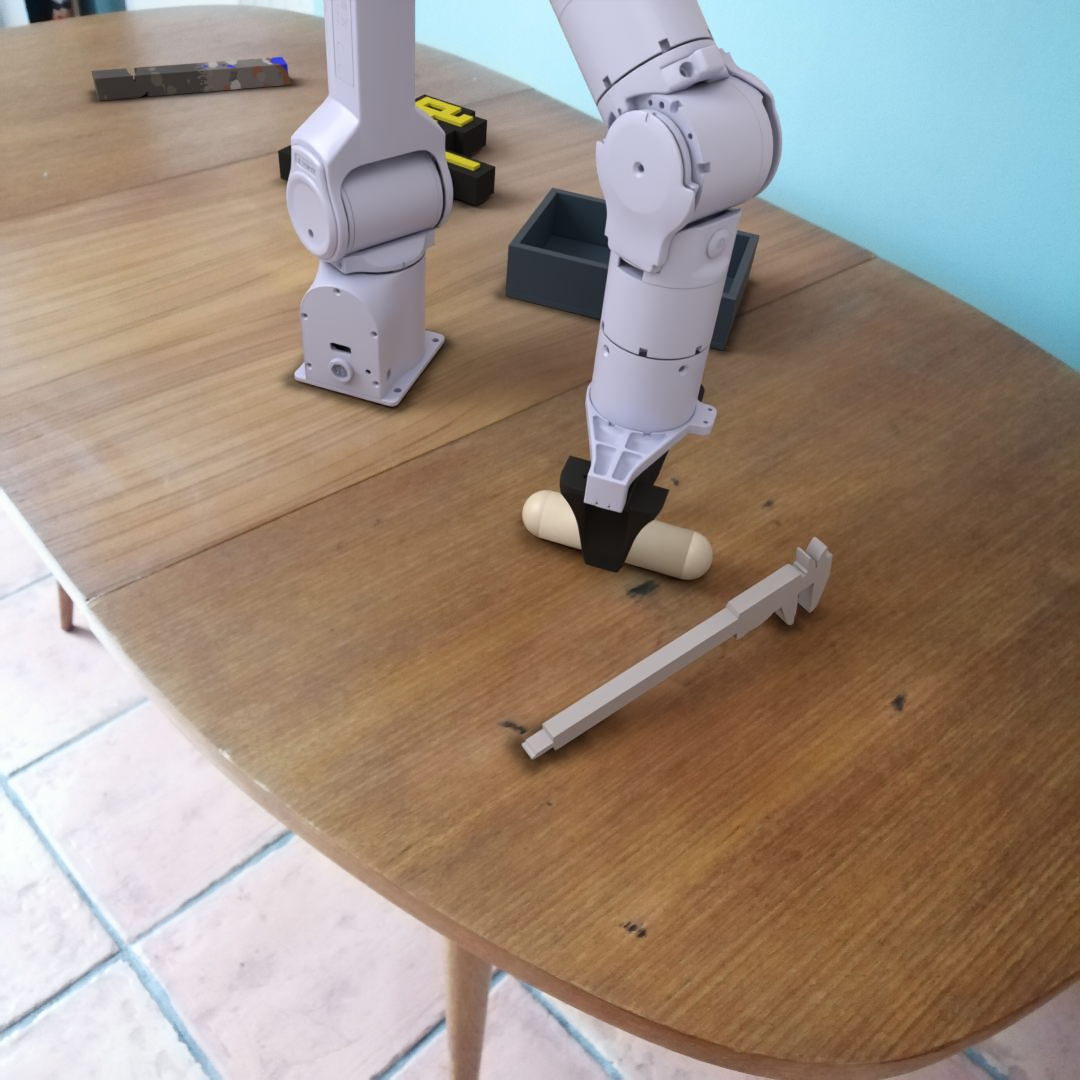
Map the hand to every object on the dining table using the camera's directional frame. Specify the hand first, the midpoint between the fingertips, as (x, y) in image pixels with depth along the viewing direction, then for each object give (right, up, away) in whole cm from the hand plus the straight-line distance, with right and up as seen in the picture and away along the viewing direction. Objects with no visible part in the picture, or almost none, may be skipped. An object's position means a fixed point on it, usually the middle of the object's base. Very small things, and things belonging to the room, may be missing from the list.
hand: (619, 522), depth 61 cm
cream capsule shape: (0, -2, +2) cm, 3 cm away
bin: (+3, +20, +25) cm, 32 cm away
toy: (-17, +35, +37) cm, 54 cm away
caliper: (+3, -9, -5) cm, 10 cm away
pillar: (-41, +47, +47) cm, 78 cm away
